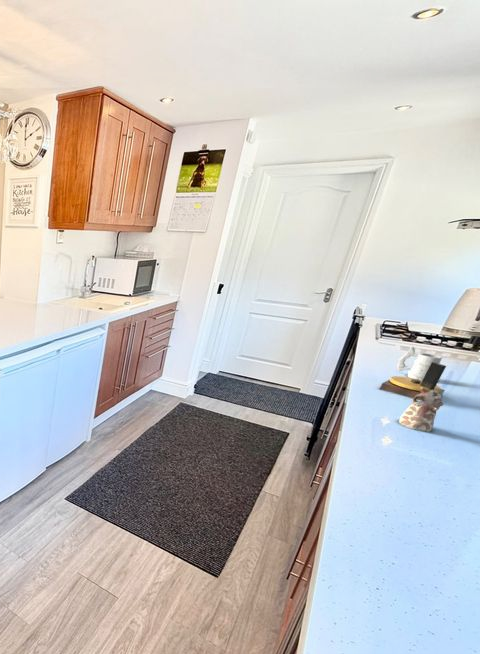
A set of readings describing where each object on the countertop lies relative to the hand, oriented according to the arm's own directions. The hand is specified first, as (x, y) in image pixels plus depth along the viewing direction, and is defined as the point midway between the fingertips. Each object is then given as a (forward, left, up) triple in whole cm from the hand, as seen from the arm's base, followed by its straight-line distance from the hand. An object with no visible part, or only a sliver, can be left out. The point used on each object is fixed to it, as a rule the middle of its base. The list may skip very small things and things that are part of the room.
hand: (472, 340), depth 138 cm
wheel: (+7, +4, -19) cm, 21 cm away
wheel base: (+7, +4, -22) cm, 23 cm away
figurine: (-2, +43, -22) cm, 48 cm away
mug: (+12, -23, -22) cm, 35 cm away
